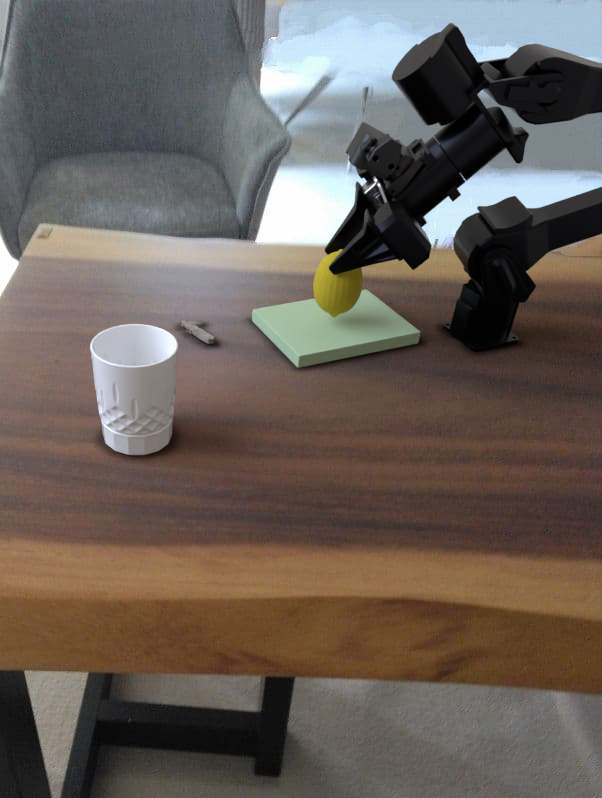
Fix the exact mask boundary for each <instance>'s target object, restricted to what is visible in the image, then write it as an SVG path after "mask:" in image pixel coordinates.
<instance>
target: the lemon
mask: <svg viewBox="0 0 602 798" xmlns="http://www.w3.org/2000/svg"><path fill="white" fill-rule="evenodd" d="M342 251H343V249H340V250H339V251H337V252H333V253H331V254H329V255H327V254H326V256H325V257H324V258H322V260H321V261H320V262H319V264H318V265H317V269H316V271H315V274H314V278H313V282H312V283H313V285H312V289H313V297H314V299H315V300H316V302H317V304H318V306H319V307H320V308H321V309H322V310H324V311H325V312H327V313H329V314H330V316H331V317H336V316H338V315H339V314H342V313H345V312H347V311H349V310H350V309H351V308H353V307H354V305H355V304H356V303H357V301H358V299H359V297H360V294H361V291H362V290H363V283H364V282H363V281H364V279H363V278H364V275H363V267H361V268H358V269H354V270H351V271H347V272H343V273H340V274H336V275H334V274H332V272H331V271H330V270H329V265H330V264H331V263H332V262H333V261H334V259H335V258H336V257H337V256H338V255H339V254H340V253H341V252H342Z"/></svg>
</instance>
